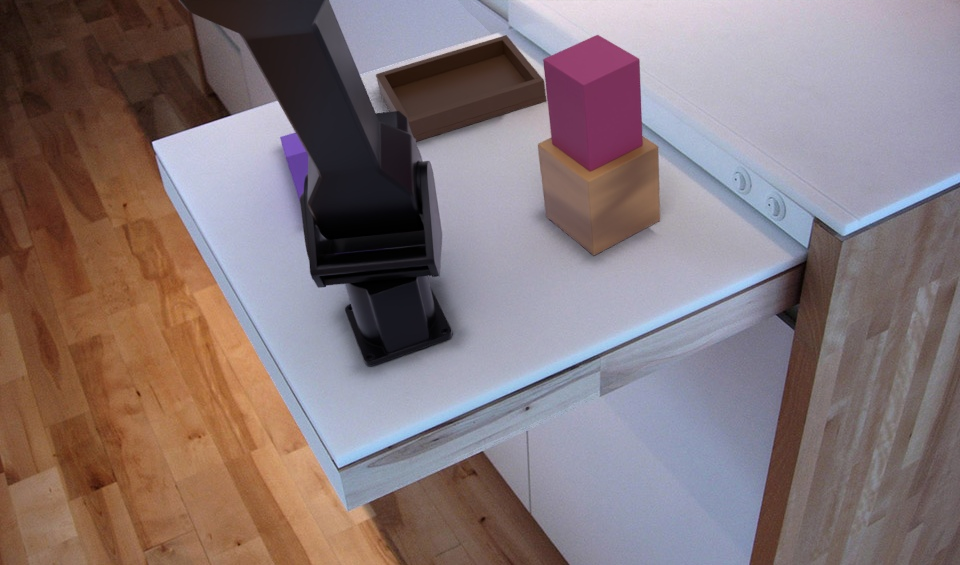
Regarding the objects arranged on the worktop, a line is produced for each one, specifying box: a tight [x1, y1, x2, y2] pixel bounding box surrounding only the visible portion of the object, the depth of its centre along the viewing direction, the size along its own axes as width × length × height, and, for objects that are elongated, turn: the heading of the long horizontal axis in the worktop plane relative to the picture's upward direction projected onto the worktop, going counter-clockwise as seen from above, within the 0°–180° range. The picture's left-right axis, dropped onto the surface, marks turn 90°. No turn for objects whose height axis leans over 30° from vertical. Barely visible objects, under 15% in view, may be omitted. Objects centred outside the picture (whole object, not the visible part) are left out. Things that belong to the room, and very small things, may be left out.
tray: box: [375, 34, 547, 142], centre depth 96 cm, size 10×13×2 cm
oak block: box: [537, 135, 661, 256], centre depth 78 cm, size 6×6×7 cm
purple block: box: [279, 132, 308, 201], centre depth 87 cm, size 12×7×7 cm, turn 18°
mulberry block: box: [542, 34, 643, 171], centre depth 73 cm, size 5×5×7 cm
